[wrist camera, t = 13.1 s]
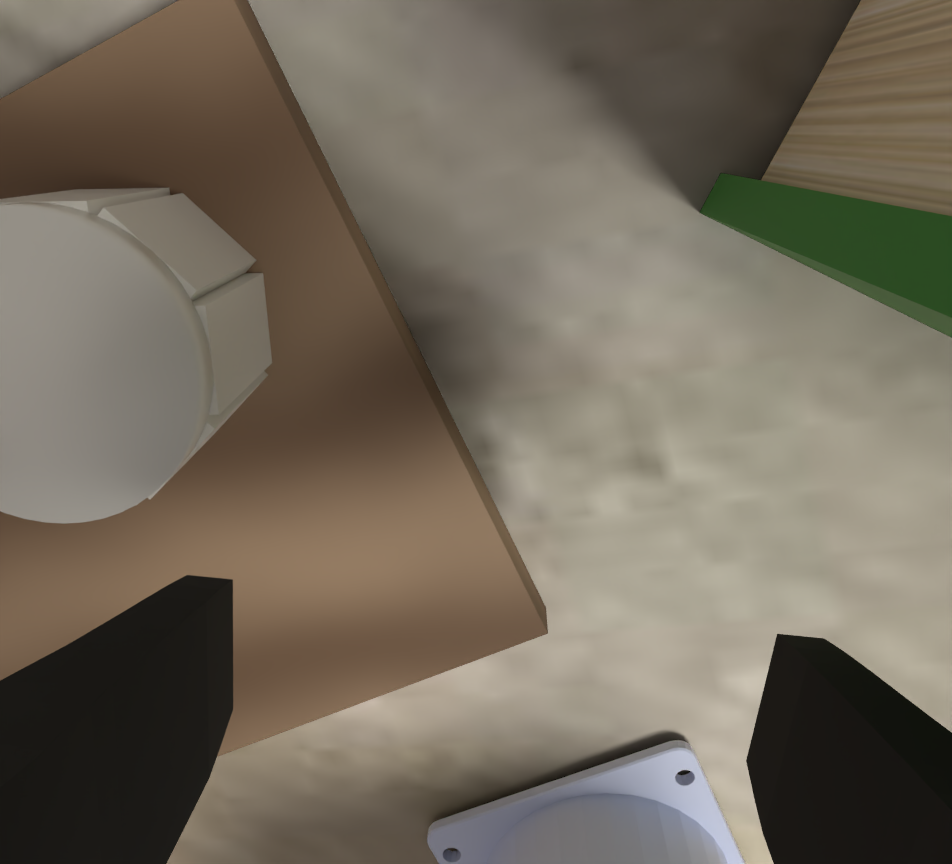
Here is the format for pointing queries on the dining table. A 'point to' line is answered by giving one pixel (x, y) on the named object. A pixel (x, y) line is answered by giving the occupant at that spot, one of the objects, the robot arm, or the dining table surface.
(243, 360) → the cap
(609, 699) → the dining table surface
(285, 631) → the brown tray
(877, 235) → the hardback book
